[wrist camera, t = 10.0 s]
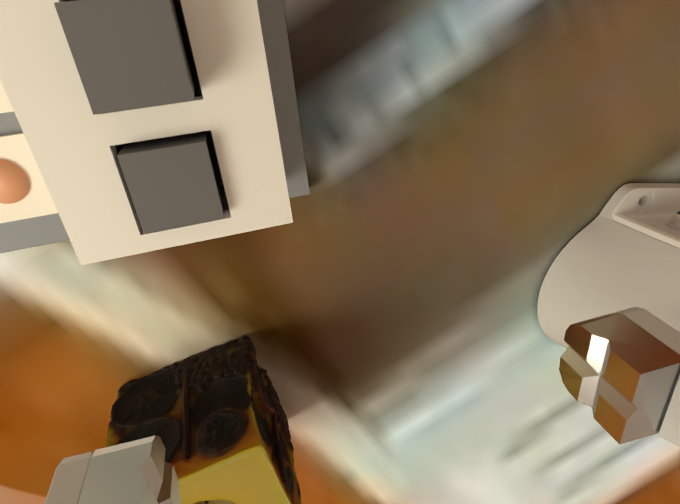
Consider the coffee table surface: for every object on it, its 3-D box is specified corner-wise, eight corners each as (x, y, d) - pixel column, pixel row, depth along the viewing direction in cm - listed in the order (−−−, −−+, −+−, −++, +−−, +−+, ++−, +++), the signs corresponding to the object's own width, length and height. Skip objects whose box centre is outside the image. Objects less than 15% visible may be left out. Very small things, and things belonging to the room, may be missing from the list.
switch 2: (204, 115, 24) (205, 141, 19) (219, 179, 26) (224, 218, 21) (135, 126, 24) (116, 155, 19) (155, 190, 25) (143, 233, 20)
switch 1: (175, -2, 21) (167, -9, 15) (195, 81, 22) (193, 100, 17) (92, 7, 20) (53, 2, 15) (119, 92, 22) (93, 114, 16)
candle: (248, 331, 33) (264, 438, 25) (290, 418, 38) (316, 532, 30) (113, 383, 32) (81, 514, 24) (175, 466, 37) (167, 598, 29)
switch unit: (250, -205, 20) (271, -299, 14) (306, 189, 30) (333, 232, 23) (-288, -194, 17) (-563, -314, 11) (-34, 253, 26) (-105, 324, 20)
